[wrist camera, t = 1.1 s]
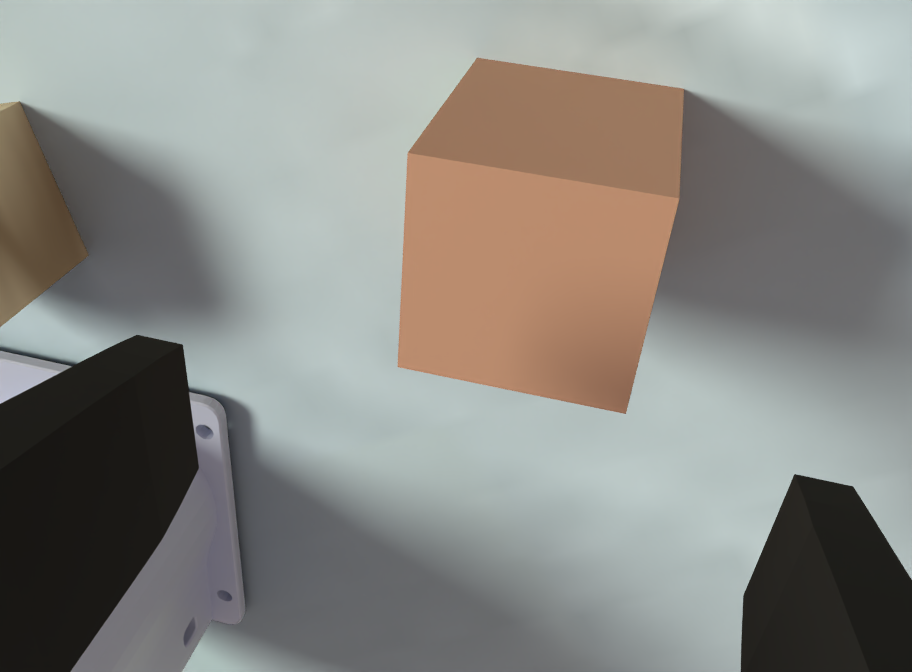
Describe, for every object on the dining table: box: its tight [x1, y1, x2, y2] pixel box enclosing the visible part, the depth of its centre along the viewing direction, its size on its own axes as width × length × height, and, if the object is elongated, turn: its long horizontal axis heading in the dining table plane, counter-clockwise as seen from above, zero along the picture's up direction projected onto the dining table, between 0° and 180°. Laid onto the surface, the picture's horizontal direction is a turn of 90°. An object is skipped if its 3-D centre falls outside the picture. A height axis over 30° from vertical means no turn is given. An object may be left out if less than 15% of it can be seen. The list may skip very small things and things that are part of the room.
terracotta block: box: [398, 58, 684, 414], centre depth 16 cm, size 4×4×5 cm
